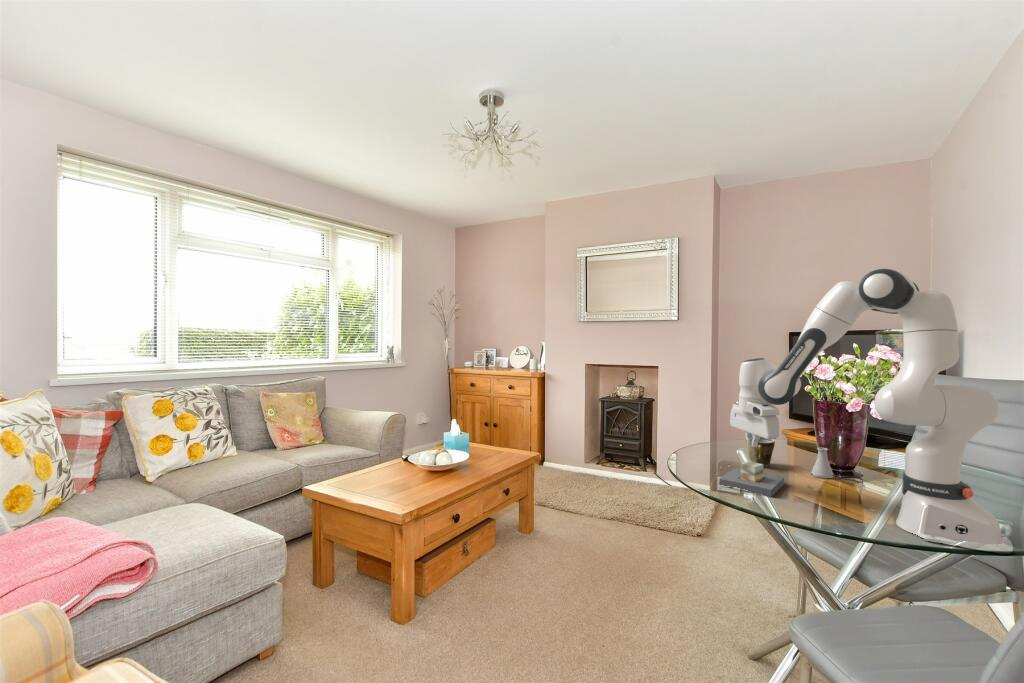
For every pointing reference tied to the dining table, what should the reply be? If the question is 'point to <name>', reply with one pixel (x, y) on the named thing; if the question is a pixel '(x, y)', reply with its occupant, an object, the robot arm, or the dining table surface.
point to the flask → (822, 465)
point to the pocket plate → (753, 483)
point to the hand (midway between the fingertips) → (752, 445)
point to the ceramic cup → (761, 451)
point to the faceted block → (752, 471)
